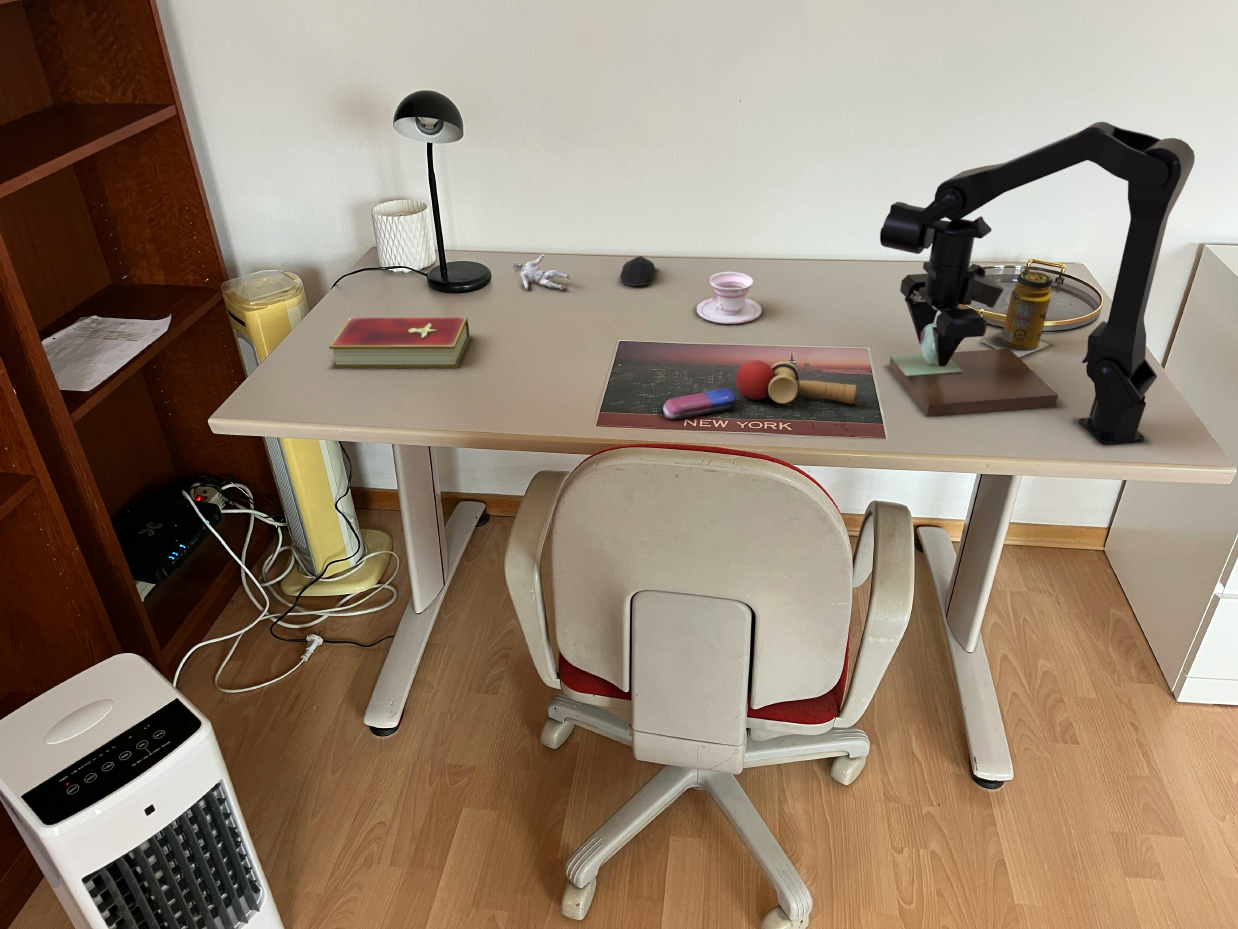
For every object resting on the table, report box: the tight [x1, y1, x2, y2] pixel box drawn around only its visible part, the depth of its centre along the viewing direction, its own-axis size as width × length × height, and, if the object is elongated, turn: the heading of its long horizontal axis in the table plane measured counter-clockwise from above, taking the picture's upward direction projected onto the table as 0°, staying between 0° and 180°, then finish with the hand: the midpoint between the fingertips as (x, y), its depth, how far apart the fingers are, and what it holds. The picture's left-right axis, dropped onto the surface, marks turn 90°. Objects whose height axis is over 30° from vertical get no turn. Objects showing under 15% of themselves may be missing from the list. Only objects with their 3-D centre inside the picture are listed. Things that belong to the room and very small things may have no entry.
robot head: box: [920, 322, 938, 364], centre depth 143 cm, size 8×4×7 cm, turn 170°
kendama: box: [735, 359, 857, 405], centre depth 139 cm, size 8×6×18 cm
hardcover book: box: [328, 317, 471, 369], centre depth 157 cm, size 12×21×4 cm, turn 88°
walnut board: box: [888, 348, 1059, 417], centre depth 142 cm, size 16×20×2 cm
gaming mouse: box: [619, 255, 656, 287], centre depth 184 cm, size 6×15×4 cm, turn 169°
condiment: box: [981, 271, 1053, 358], centre depth 151 cm, size 7×8×12 cm
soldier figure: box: [512, 254, 571, 291], centre depth 181 cm, size 8×5×12 cm
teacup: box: [696, 271, 763, 325], centre depth 167 cm, size 12×12×6 cm
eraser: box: [662, 388, 737, 420], centre depth 138 cm, size 11×4×2 cm, turn 105°
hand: (932, 355), depth 144 cm, fingers closed on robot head, 7 cm apart
